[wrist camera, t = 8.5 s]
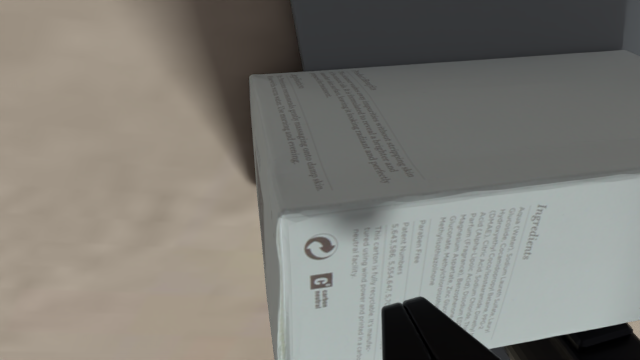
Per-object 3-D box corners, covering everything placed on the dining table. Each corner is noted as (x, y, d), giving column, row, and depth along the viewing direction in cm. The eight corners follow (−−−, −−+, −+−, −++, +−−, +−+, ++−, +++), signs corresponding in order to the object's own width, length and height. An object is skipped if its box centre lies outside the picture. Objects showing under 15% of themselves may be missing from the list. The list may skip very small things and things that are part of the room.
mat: (679, 184, 24) (689, 191, 23) (340, 275, 22) (343, 284, 22) (821, -221, 15) (842, -225, 14) (269, -116, 13) (271, -115, 13)
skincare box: (273, 392, 12) (761, 324, 14) (265, 198, 9) (897, 150, 11) (255, 203, 19) (585, 178, 21) (246, 56, 16) (637, 45, 18)
